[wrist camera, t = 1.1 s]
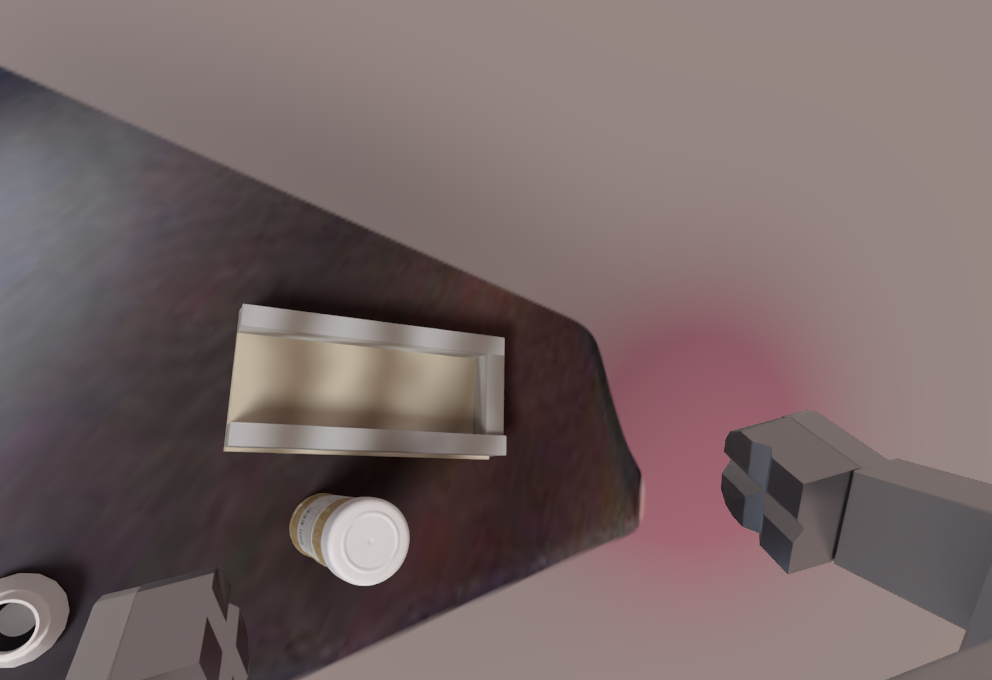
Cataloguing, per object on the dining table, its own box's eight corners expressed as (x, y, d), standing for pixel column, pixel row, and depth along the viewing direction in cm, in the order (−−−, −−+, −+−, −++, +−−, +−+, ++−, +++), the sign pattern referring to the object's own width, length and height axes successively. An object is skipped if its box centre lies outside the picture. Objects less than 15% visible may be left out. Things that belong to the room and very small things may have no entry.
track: (223, 451, 42) (227, 449, 39) (239, 312, 44) (244, 298, 41) (483, 459, 51) (506, 458, 47) (486, 342, 53) (507, 333, 50)
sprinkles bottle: (332, 567, 44) (387, 601, 32) (274, 540, 43) (310, 565, 31) (363, 508, 46) (425, 520, 34) (309, 480, 44) (355, 482, 33)
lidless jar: (35, 554, 37) (-58, 617, 34) (24, 560, 34) (-78, 628, 32) (88, 617, 37) (-1, 684, 35) (81, 628, 35) (-15, 700, 32)
